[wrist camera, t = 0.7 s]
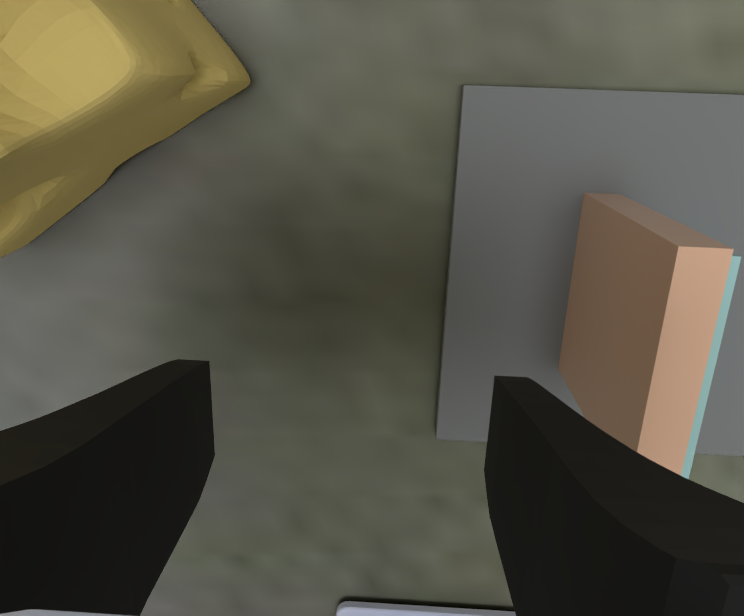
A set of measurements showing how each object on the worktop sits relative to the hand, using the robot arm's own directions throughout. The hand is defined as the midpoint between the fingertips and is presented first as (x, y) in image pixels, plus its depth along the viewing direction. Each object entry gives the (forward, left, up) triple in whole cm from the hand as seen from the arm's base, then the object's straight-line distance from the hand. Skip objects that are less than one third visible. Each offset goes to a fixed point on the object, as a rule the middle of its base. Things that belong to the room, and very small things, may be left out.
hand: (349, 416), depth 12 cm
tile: (0, -7, -9) cm, 12 cm away
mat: (0, -9, -10) cm, 13 cm away
